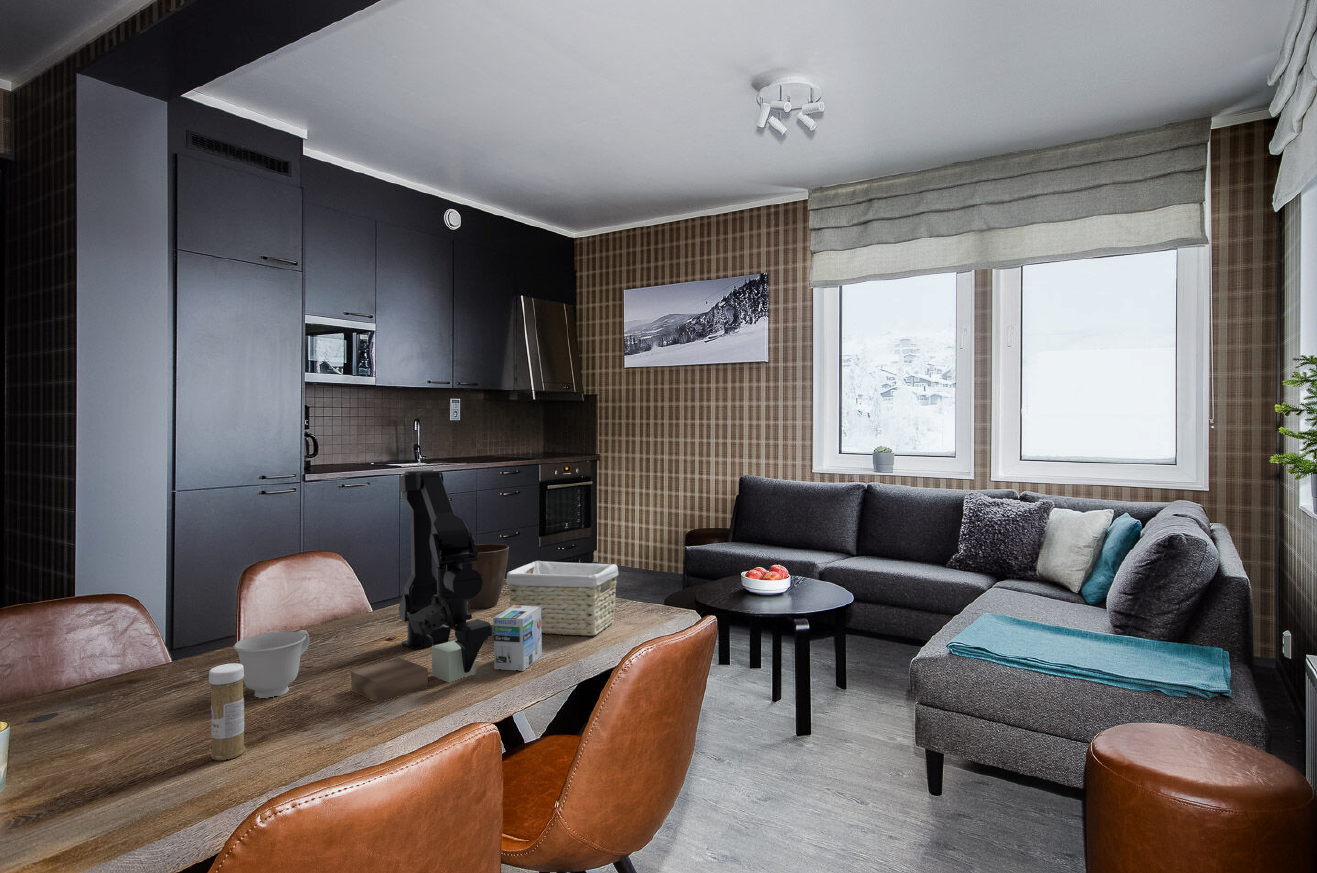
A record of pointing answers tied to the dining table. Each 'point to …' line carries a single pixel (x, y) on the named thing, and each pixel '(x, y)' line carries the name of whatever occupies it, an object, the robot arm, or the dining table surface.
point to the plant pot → (489, 574)
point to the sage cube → (448, 662)
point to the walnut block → (389, 679)
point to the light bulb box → (517, 637)
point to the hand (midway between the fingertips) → (453, 667)
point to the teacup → (271, 660)
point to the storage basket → (566, 595)
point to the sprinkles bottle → (227, 711)
